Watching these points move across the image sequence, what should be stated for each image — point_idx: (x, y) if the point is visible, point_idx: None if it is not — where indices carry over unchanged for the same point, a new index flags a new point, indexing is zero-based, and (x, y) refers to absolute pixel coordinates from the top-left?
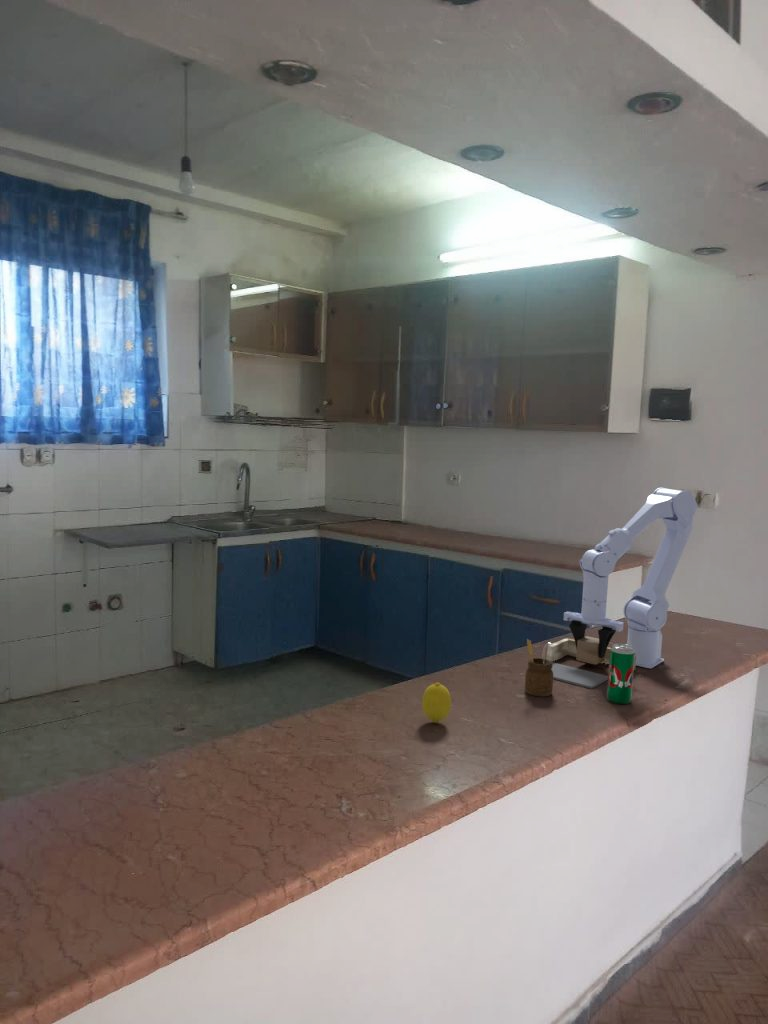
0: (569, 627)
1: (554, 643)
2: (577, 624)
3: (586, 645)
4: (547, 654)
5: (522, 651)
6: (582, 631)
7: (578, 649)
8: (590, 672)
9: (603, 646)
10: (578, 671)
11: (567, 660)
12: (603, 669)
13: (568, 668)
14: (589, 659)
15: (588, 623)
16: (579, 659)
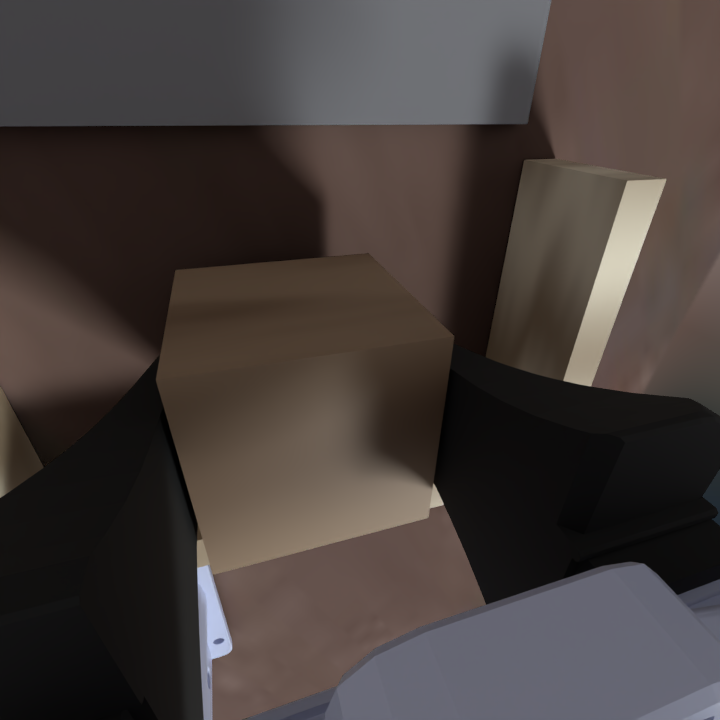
0: (688, 401)
1: (617, 298)
2: (621, 531)
3: (317, 333)
4: (597, 167)
5: (709, 241)
6: (482, 508)
7: (390, 292)
8: (119, 92)
9: (94, 426)
10: (223, 16)
11: (447, 307)
12: (161, 336)
13: (347, 44)
14: (245, 275)
15: (406, 634)
16: (343, 260)
